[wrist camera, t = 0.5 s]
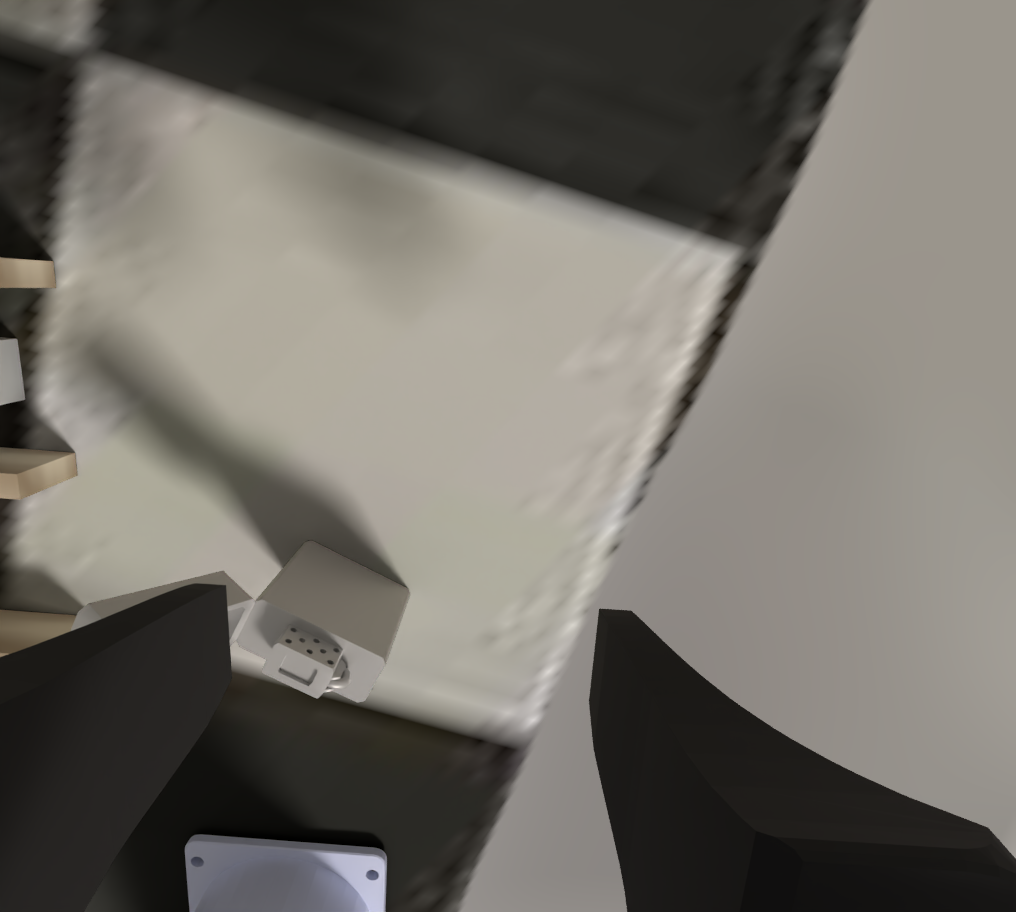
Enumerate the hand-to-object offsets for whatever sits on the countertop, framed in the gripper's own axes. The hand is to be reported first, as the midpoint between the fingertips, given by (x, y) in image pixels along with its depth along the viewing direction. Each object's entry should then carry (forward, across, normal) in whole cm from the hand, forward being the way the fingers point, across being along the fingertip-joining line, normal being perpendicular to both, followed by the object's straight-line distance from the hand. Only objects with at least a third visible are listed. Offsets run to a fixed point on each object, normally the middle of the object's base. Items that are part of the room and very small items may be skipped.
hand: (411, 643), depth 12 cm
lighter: (+10, +5, +3) cm, 11 cm away
